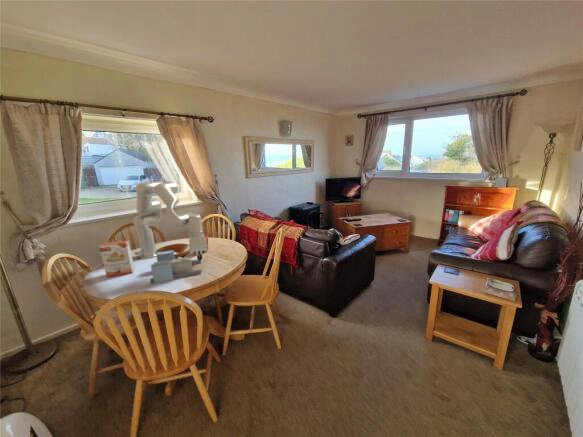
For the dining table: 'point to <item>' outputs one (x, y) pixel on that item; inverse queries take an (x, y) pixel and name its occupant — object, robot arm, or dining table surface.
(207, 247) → the plant pot
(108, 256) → the cracker box
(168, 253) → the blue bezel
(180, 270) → the lumpy-topped squat cylinder
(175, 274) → the grey long bars
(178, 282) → the dining table surface
